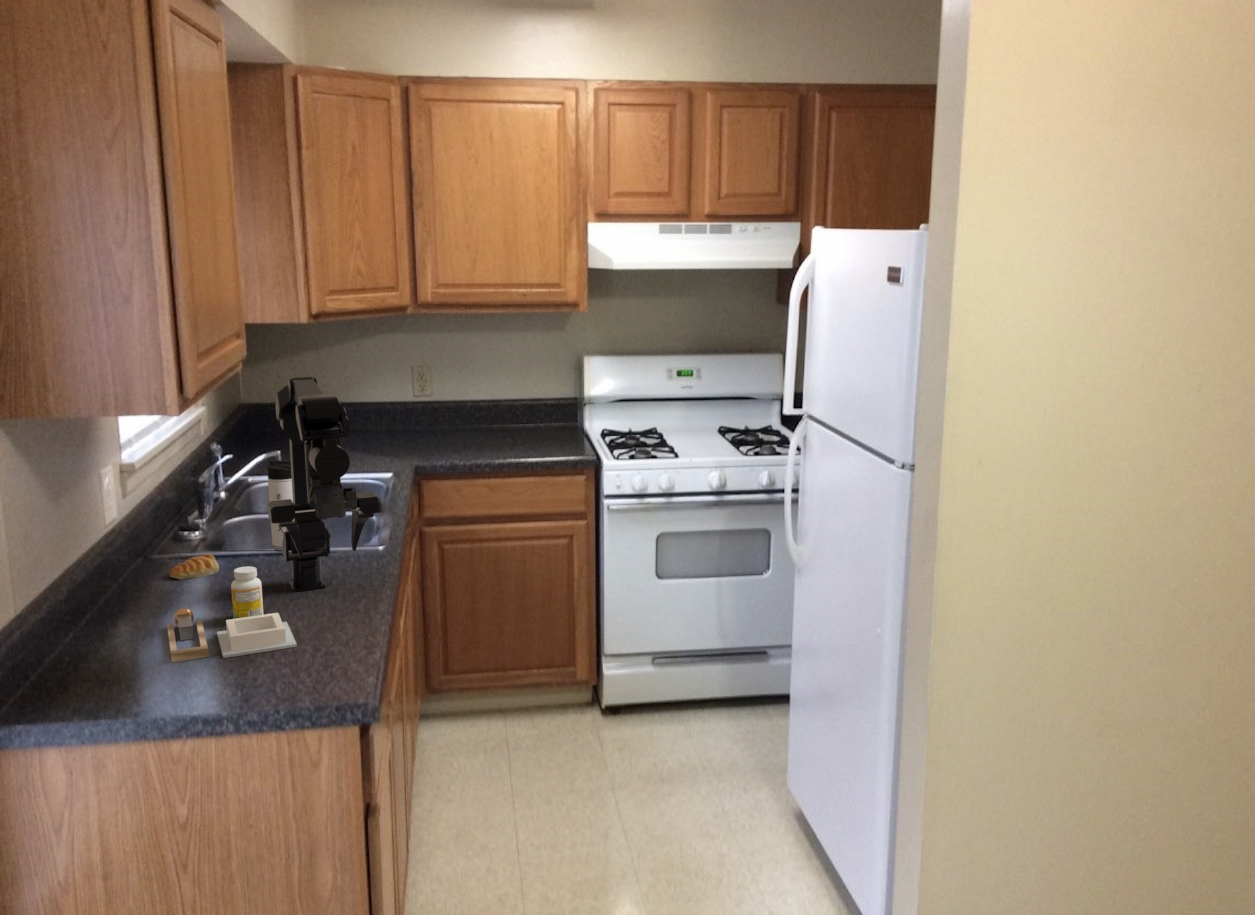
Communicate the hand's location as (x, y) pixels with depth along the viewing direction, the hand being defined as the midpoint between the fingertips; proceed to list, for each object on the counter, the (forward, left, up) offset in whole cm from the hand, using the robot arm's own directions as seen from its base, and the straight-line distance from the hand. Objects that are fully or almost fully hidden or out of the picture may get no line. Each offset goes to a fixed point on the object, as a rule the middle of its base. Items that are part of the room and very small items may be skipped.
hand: (327, 553), depth 183 cm
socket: (-1, -13, -15) cm, 20 cm away
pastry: (-46, -20, -15) cm, 52 cm away
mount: (-5, -24, -15) cm, 28 cm away
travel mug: (-58, 0, -15) cm, 60 cm away
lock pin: (-10, -24, -15) cm, 30 cm away
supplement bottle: (-13, -13, -15) cm, 24 cm away
